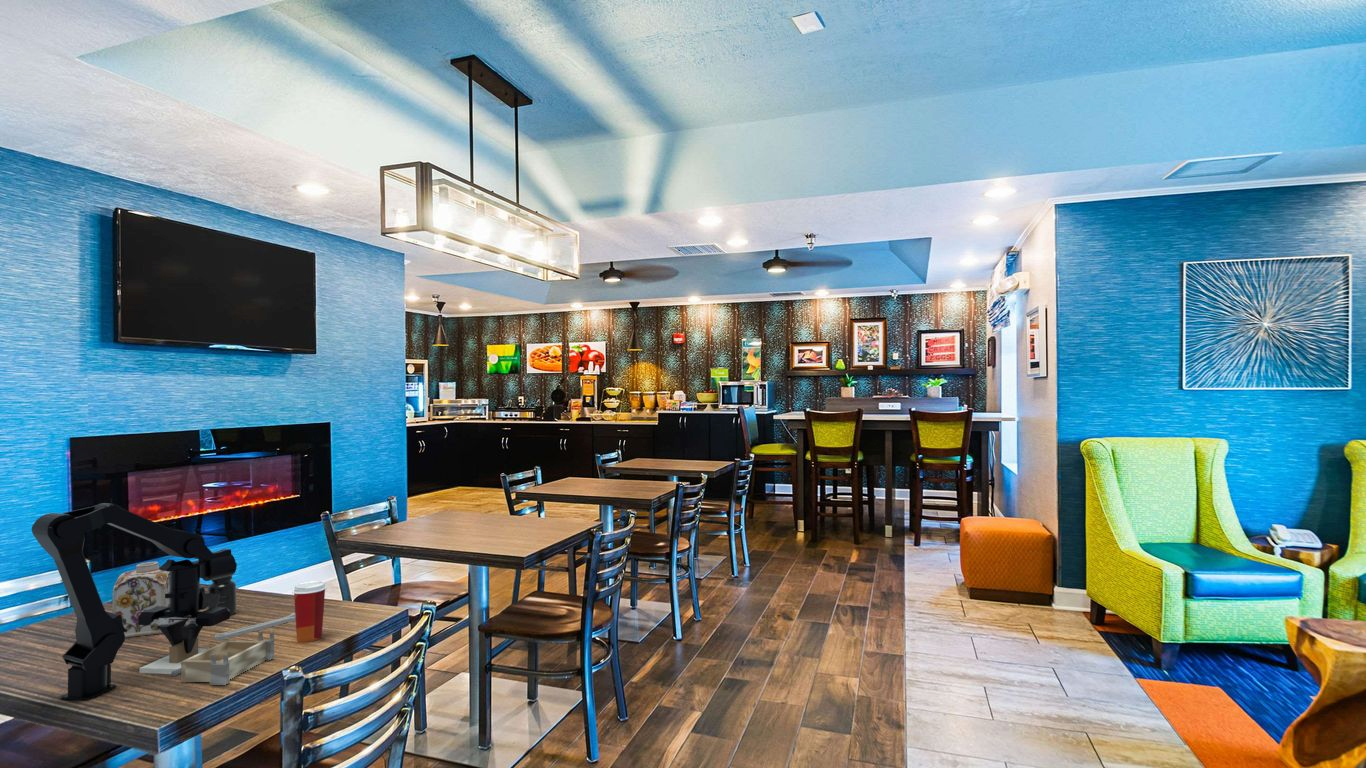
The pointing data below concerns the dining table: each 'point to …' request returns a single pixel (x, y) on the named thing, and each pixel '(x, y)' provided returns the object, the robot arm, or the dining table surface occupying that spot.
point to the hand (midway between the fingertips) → (184, 652)
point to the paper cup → (309, 610)
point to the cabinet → (227, 660)
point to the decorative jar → (140, 597)
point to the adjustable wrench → (255, 627)
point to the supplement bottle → (224, 593)
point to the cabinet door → (172, 660)
